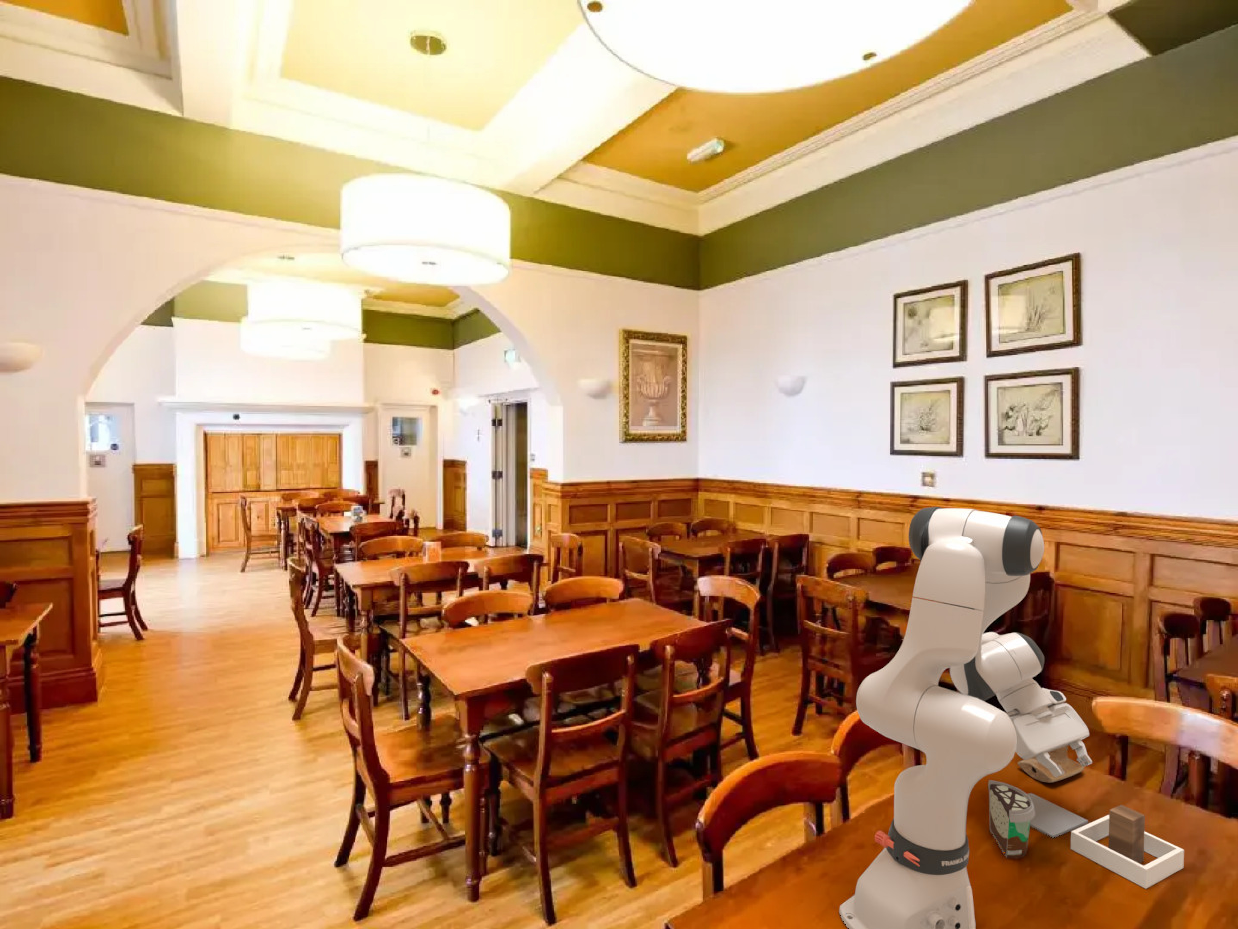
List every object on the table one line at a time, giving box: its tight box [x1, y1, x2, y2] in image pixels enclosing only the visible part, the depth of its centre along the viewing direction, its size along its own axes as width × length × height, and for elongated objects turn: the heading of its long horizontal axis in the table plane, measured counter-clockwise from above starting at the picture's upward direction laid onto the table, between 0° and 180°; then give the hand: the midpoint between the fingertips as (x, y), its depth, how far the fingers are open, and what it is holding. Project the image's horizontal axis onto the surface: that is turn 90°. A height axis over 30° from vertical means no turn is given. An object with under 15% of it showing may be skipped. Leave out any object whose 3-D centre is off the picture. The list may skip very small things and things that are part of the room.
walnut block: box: [1107, 804, 1146, 864], centre depth 127 cm, size 4×4×9 cm
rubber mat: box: [1026, 792, 1089, 839], centre depth 141 cm, size 12×12×1 cm
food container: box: [987, 779, 1035, 860], centre depth 131 cm, size 12×6×10 cm, turn 168°
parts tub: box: [1070, 814, 1185, 889], centre depth 127 cm, size 13×13×4 cm
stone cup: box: [1017, 745, 1085, 784], centre depth 160 cm, size 15×12×15 cm
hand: (1074, 770), depth 135 cm, fingers open, 8 cm apart
